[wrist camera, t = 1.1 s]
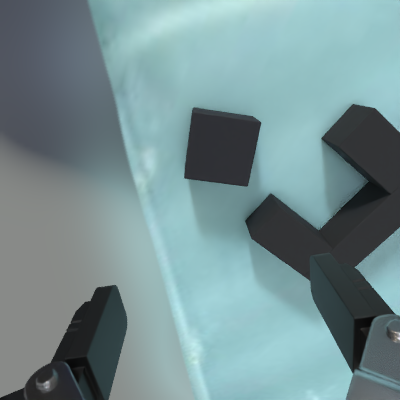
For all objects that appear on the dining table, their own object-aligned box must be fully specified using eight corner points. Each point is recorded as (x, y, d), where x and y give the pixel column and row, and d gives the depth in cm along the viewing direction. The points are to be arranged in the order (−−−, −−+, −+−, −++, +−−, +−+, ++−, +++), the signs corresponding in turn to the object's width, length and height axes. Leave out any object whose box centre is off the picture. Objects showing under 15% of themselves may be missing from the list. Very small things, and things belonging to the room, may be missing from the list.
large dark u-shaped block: (244, 221, 35) (251, 238, 31) (352, 103, 30) (375, 108, 27) (313, 271, 38) (326, 292, 34) (421, 170, 33) (450, 182, 30)
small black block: (184, 166, 32) (184, 178, 29) (192, 107, 30) (192, 112, 27) (241, 174, 33) (247, 186, 29) (253, 116, 31) (261, 122, 27)
